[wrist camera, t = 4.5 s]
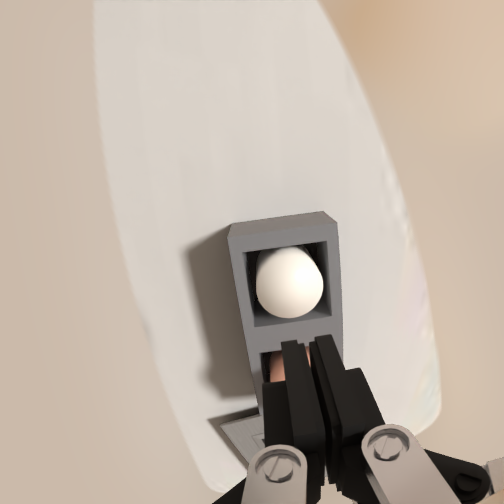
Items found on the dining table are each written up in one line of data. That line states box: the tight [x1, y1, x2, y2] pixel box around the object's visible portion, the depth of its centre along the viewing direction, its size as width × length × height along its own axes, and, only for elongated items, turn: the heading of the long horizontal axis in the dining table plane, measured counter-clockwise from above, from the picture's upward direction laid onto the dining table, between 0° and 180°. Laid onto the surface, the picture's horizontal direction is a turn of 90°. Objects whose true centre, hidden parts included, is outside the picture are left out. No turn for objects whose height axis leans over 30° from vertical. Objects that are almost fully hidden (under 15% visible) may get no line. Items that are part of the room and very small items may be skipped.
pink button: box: [269, 346, 310, 382], centre depth 21 cm, size 4×4×4 cm
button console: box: [227, 211, 343, 415], centre depth 22 cm, size 14×6×4 cm, turn 8°
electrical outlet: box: [220, 413, 327, 477], centre depth 28 cm, size 13×10×2 cm
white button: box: [256, 244, 323, 318], centre depth 21 cm, size 4×4×4 cm
